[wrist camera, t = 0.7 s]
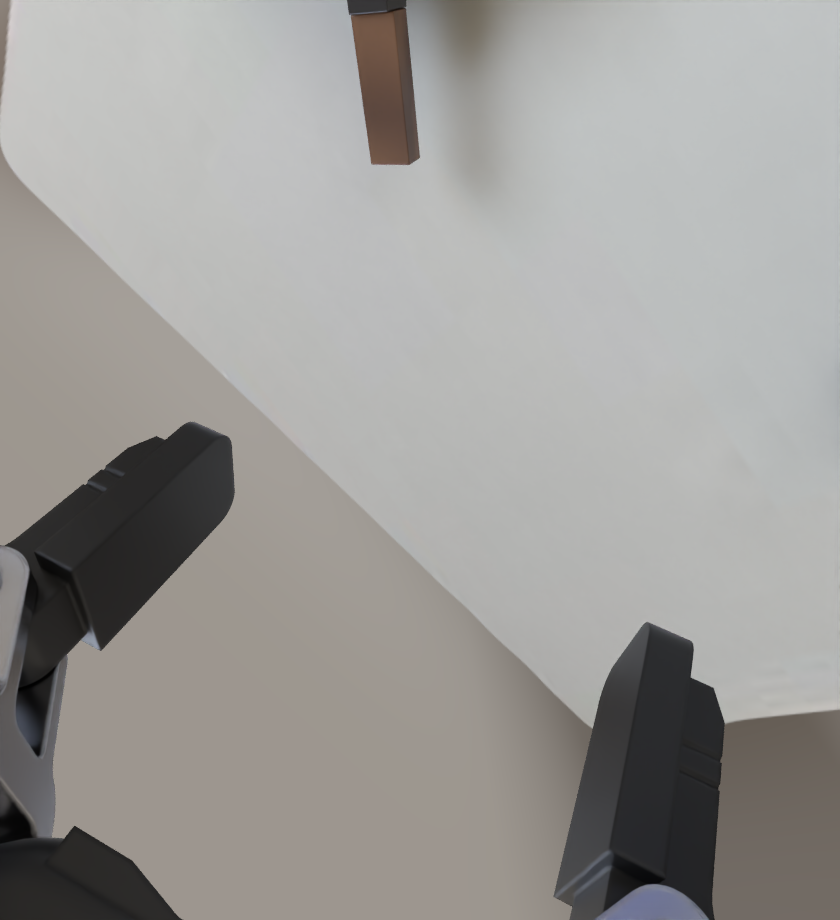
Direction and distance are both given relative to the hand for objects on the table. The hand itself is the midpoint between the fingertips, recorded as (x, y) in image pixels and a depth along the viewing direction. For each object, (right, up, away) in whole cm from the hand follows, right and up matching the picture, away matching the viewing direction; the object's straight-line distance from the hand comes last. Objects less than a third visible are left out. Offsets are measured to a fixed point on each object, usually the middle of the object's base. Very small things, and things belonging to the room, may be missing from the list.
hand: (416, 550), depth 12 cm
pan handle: (-1, +19, +17) cm, 25 cm away
